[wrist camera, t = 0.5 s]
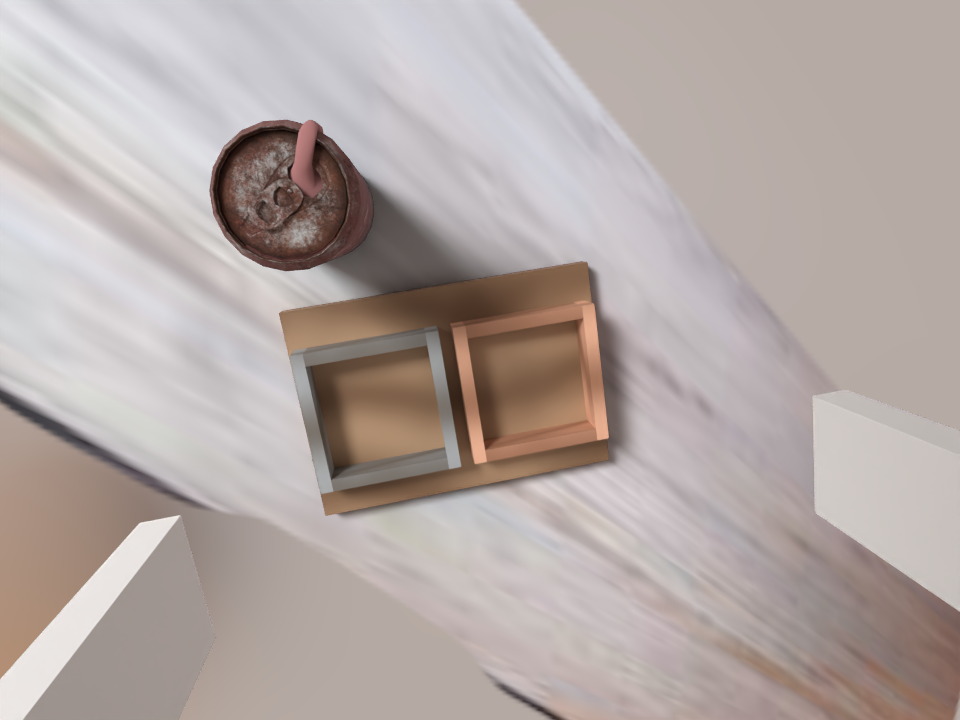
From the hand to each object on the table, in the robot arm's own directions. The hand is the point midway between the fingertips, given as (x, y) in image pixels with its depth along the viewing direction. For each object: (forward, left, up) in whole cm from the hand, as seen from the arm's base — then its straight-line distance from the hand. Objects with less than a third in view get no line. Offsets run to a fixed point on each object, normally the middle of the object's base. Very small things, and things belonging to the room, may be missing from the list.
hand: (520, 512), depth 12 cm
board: (+5, 0, -29) cm, 29 cm away
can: (-8, -6, -29) cm, 30 cm away
